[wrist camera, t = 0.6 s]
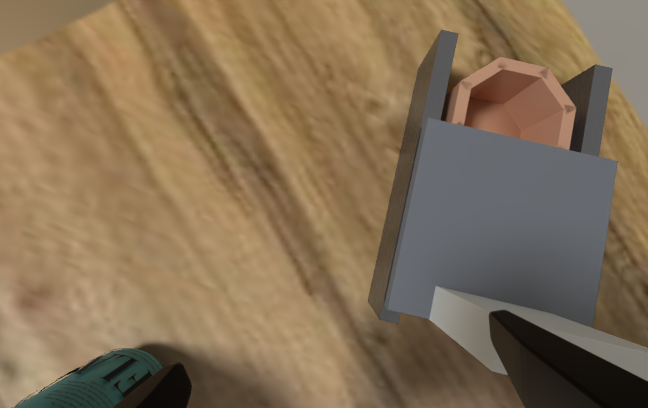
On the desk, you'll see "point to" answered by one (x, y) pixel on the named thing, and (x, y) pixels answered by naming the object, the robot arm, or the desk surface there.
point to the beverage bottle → (98, 382)
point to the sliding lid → (506, 241)
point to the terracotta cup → (513, 103)
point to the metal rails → (428, 103)
